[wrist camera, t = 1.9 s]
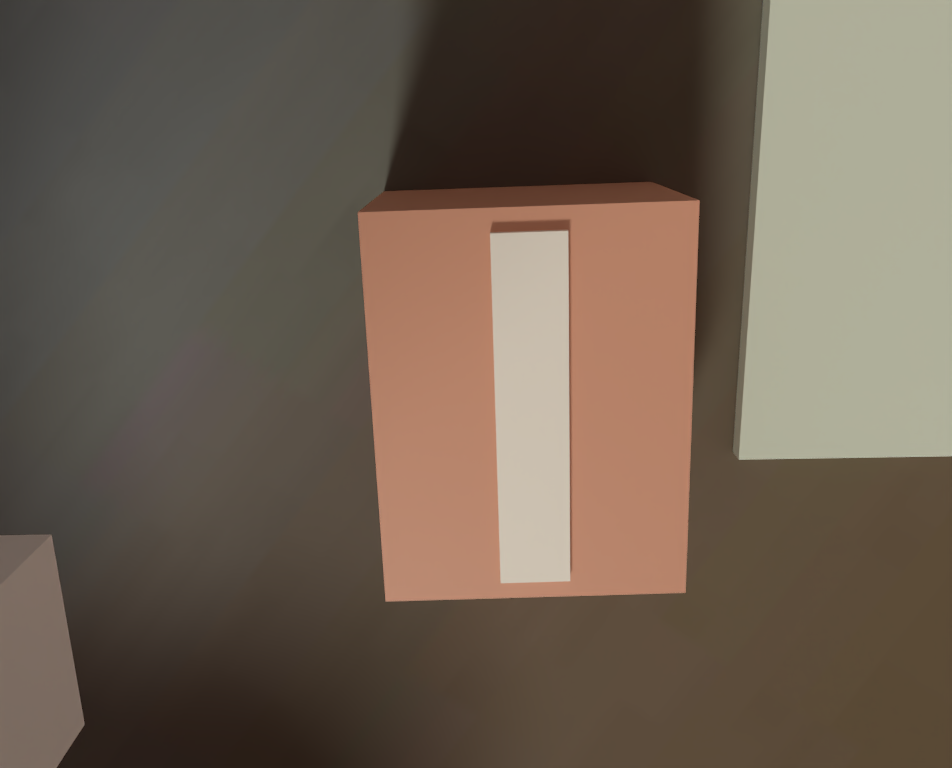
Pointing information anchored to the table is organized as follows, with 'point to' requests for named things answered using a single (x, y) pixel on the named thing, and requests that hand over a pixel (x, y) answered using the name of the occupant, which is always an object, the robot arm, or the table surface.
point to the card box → (531, 388)
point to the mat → (849, 234)
